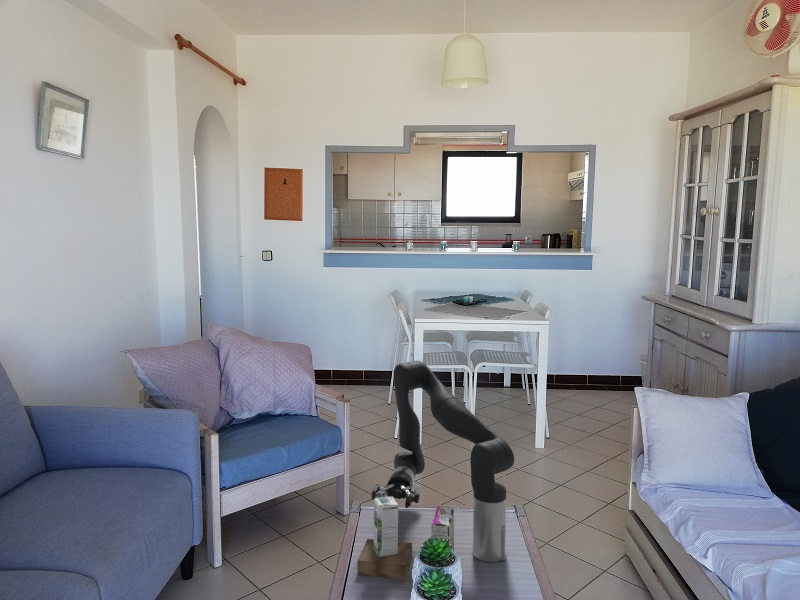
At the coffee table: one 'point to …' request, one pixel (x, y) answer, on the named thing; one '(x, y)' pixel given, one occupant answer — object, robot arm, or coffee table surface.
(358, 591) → the coffee table surface
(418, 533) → the coffee table surface
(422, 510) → the coffee table surface
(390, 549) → the syrup box
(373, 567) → the walnut riser
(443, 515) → the candy bar box
